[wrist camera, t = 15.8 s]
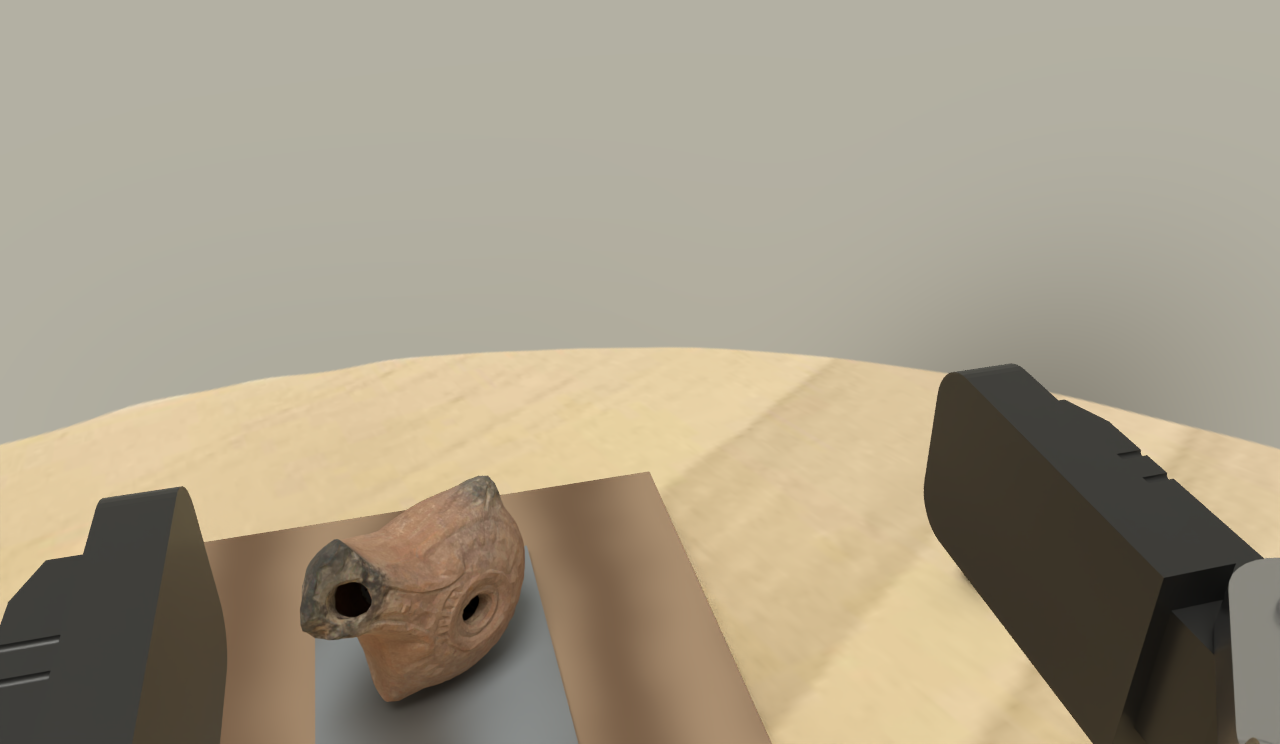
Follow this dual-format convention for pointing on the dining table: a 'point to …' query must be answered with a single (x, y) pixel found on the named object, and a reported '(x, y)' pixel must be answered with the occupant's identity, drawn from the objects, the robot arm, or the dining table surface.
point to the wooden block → (500, 640)
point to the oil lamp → (421, 588)
